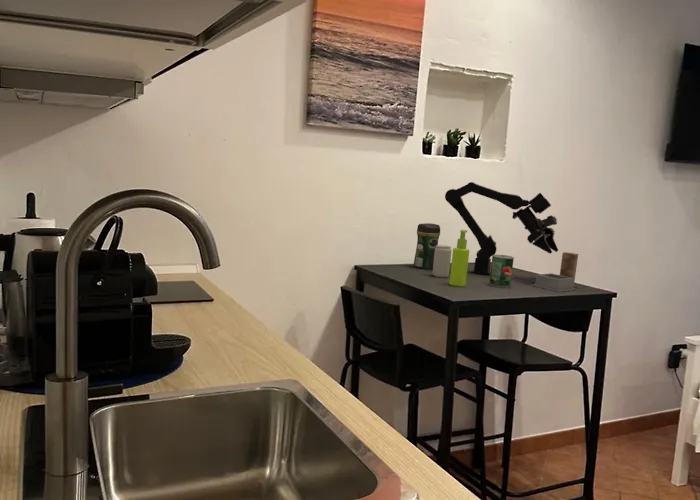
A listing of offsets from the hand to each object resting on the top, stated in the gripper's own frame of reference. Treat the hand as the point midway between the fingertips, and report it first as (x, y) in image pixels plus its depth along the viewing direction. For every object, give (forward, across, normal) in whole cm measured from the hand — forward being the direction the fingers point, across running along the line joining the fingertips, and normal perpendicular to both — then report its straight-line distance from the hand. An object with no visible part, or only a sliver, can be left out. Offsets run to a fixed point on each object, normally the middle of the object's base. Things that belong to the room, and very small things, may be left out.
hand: (554, 252), depth 253 cm
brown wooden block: (+13, 0, +4) cm, 14 cm away
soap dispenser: (-8, -39, +25) cm, 47 cm away
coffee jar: (-25, -15, +43) cm, 52 cm away
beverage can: (-16, -29, +34) cm, 47 cm away
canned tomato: (0, -24, +18) cm, 30 cm away
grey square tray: (+12, -10, +6) cm, 16 cm away
